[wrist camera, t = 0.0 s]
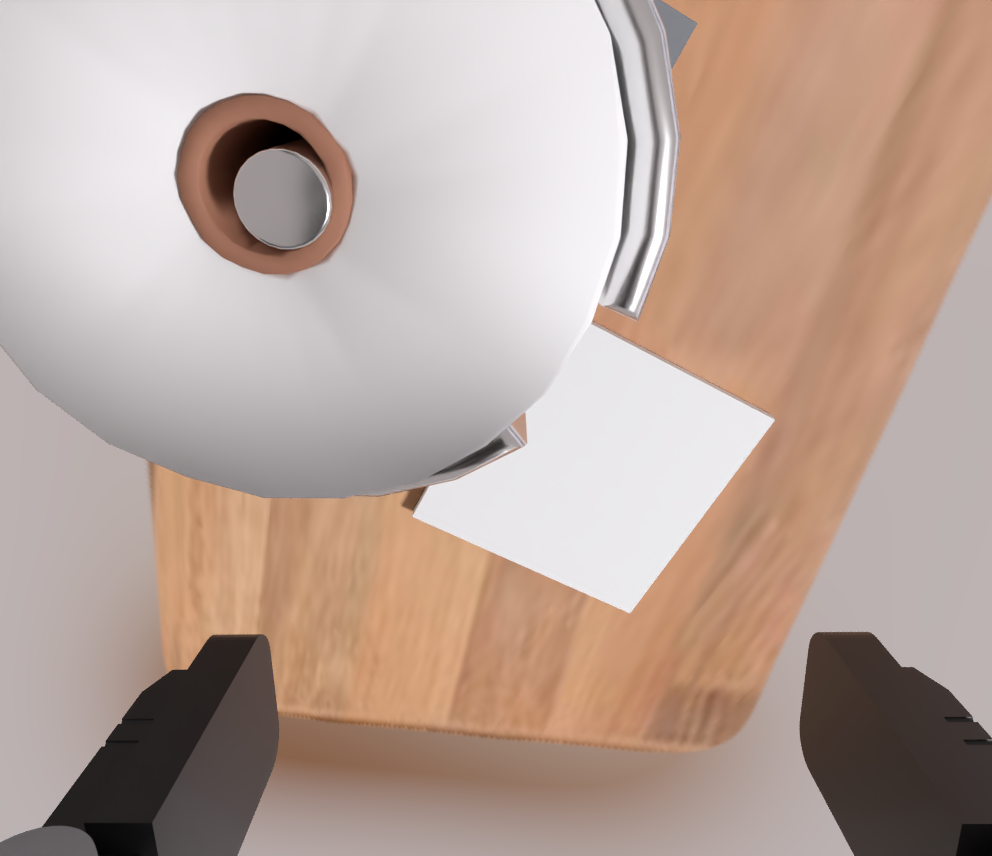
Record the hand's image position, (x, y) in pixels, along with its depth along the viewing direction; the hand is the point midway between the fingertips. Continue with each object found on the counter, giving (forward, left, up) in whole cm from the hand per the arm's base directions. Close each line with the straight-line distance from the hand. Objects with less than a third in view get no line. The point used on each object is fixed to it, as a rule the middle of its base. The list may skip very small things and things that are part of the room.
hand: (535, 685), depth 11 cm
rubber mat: (+6, +7, -22) cm, 24 cm away
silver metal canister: (-5, -5, -23) cm, 24 cm away
